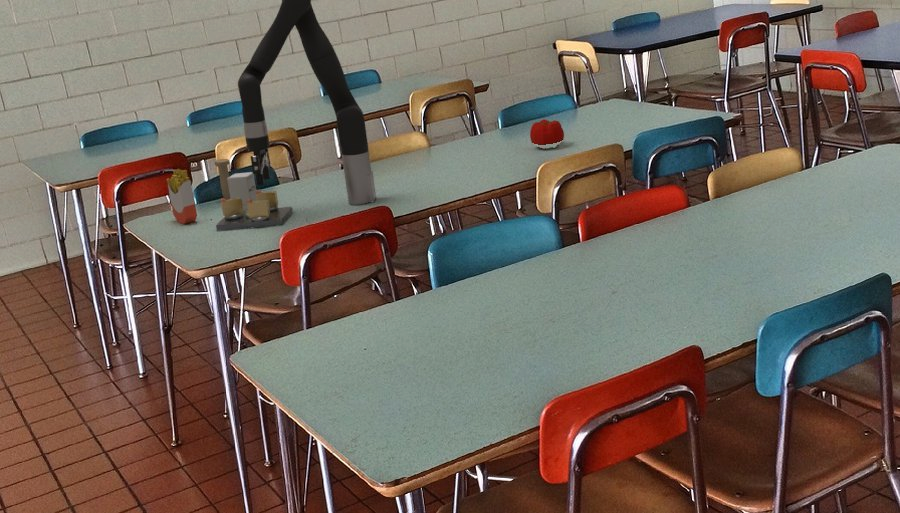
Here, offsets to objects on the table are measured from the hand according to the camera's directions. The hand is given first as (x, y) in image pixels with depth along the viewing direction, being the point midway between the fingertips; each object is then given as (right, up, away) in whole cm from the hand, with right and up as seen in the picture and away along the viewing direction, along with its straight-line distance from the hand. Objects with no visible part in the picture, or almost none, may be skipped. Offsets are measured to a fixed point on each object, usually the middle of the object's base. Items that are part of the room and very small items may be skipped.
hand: (263, 182), depth 351 cm
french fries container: (-28, -13, +9) cm, 33 cm away
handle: (-19, -4, +33) cm, 38 cm away
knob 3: (0, -13, -9) cm, 15 cm away
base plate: (-2, -13, -2) cm, 14 cm away
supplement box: (-9, -9, +16) cm, 20 cm away
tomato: (+101, +18, +59) cm, 119 cm away
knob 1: (-10, -12, -2) cm, 15 cm away
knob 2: (+1, -9, +3) cm, 10 cm away
